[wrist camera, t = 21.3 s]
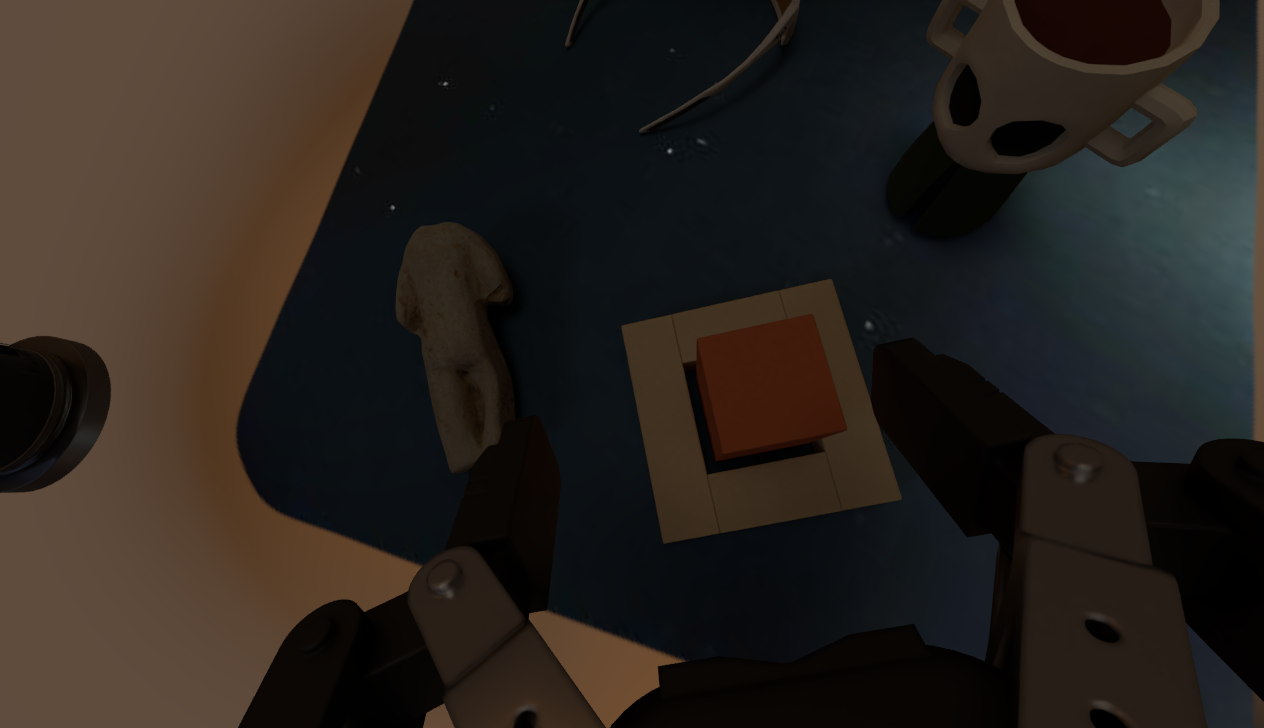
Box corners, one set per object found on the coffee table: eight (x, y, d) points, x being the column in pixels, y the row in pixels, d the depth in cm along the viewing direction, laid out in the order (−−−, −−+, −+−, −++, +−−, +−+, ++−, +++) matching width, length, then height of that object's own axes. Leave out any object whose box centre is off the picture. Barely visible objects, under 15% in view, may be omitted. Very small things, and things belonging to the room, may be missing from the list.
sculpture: (563, 446, 30) (508, 231, 33) (536, 448, 26) (474, 198, 28) (459, 477, 31) (414, 265, 34) (415, 485, 26) (366, 238, 29)
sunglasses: (836, 30, 34) (849, -38, 29) (663, 170, 35) (649, 128, 30) (712, -80, 37) (706, -157, 32) (561, 51, 39) (534, -3, 34)
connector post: (714, 462, 28) (722, 454, 19) (696, 379, 29) (695, 338, 21) (801, 445, 28) (848, 430, 19) (778, 362, 29) (813, 312, 20)
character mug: (829, 180, 31) (917, -21, 19) (906, 109, 32) (1043, -133, 19) (970, 292, 28) (1187, 144, 16) (1053, 213, 29) (1328, 9, 16)
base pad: (666, 538, 27) (663, 544, 25) (626, 337, 31) (621, 325, 28) (884, 497, 26) (902, 499, 24) (821, 294, 30) (832, 278, 27)
